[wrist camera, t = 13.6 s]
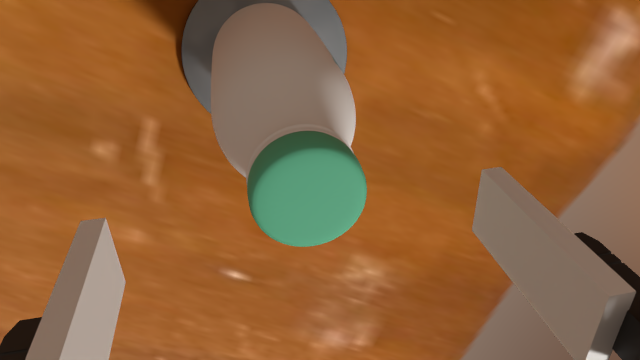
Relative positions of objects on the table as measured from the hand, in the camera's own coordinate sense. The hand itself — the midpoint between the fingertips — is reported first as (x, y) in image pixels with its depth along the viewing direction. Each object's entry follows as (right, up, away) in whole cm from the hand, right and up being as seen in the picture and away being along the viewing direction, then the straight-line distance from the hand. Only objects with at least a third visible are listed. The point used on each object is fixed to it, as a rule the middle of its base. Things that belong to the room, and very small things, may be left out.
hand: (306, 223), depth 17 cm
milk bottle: (-3, +11, +18) cm, 22 cm away
